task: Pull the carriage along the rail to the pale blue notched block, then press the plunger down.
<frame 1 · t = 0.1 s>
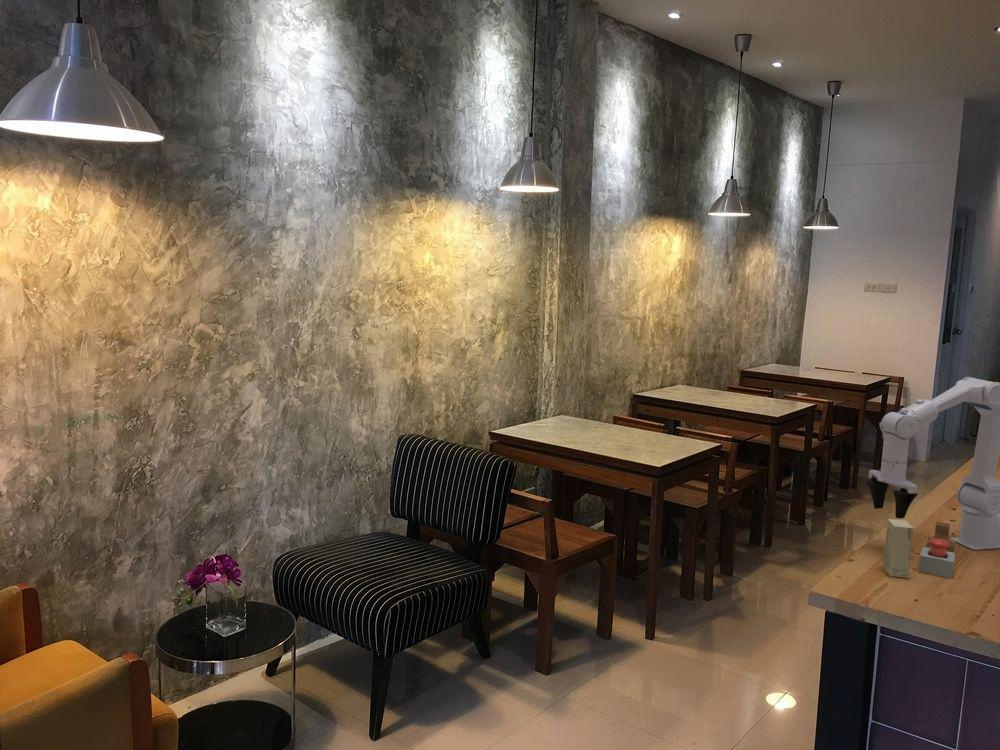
hand: (889, 512, 205), 10 cm above the counter, tool pointing down, fingers open, 7 cm apart
skincare box: (895, 573, 193), on the counter
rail: (938, 556, 204), on the counter
pale blue notched block: (936, 570, 195), on the counter
carriage: (941, 537, 206), point 4 cm above the counter, slide at 0.0 cm
plunger: (938, 550, 194), point 5 cm above the counter, slide at 0.0 cm
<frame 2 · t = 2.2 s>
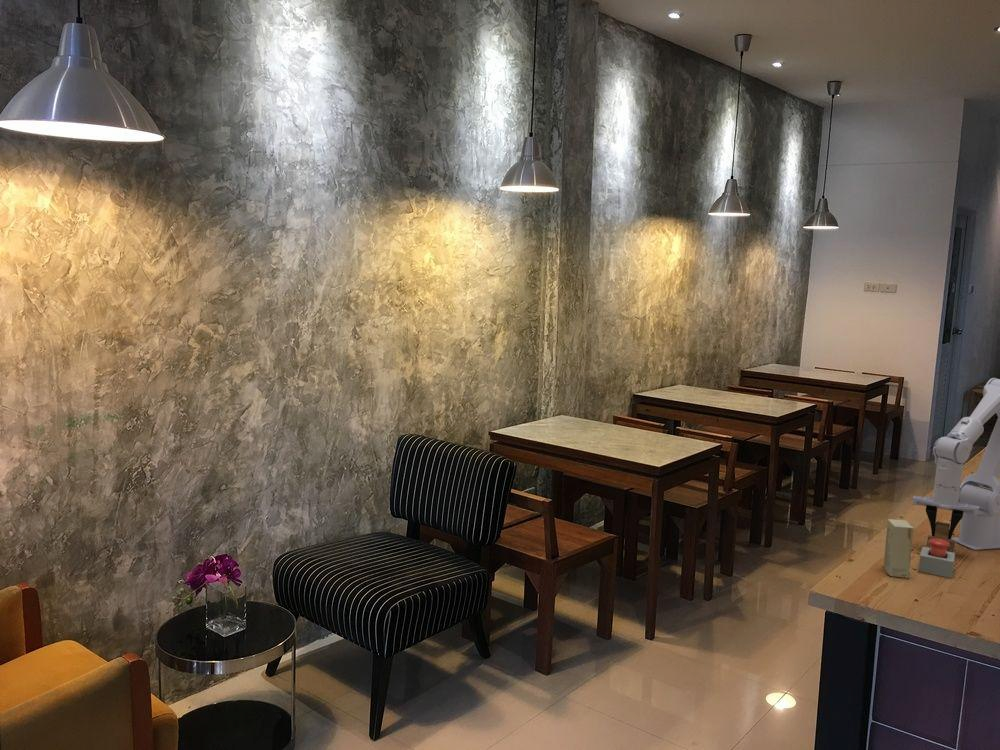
hand: (941, 536, 206), 4 cm above the counter, tool pointing down, fingers closed on carriage, 3 cm apart
carriage: (941, 537, 206), point 4 cm above the counter, slide at 0.0 cm, touching gripper
everything else where it was.
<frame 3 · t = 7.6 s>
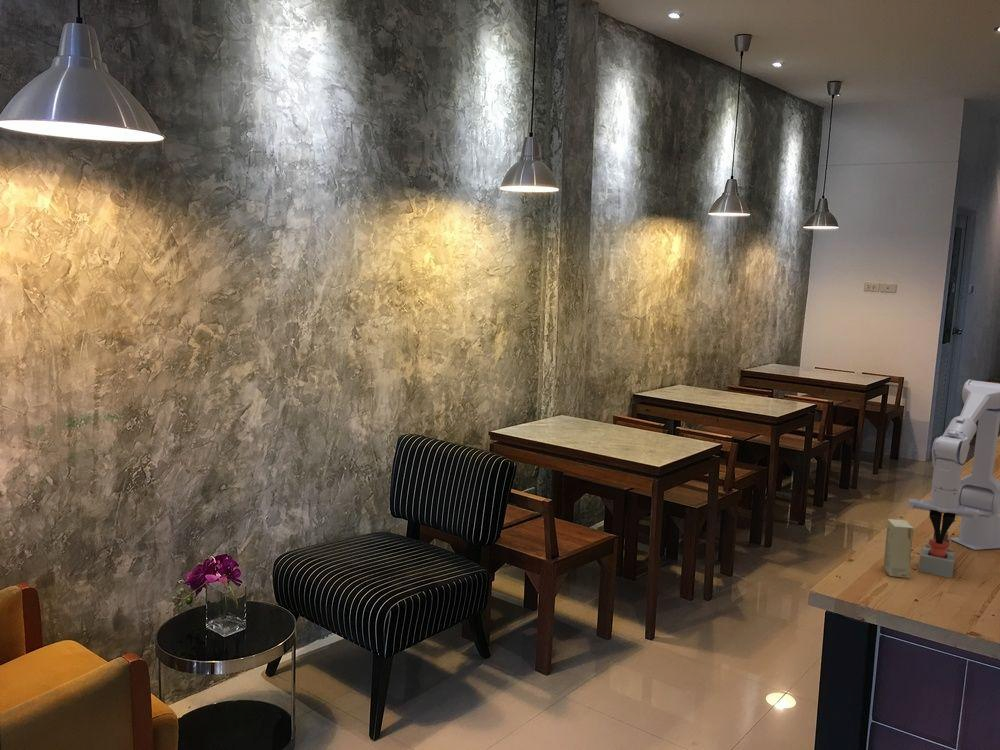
hand: (939, 542, 194), 7 cm above the counter, tool pointing down, fingers closed, pressing on plunger
carriage: (939, 545, 200), point 4 cm above the counter, slide at 6.9 cm
plunger: (938, 551, 194), point 5 cm above the counter, slide at 0.2 cm, touching gripper
everything else where it was.
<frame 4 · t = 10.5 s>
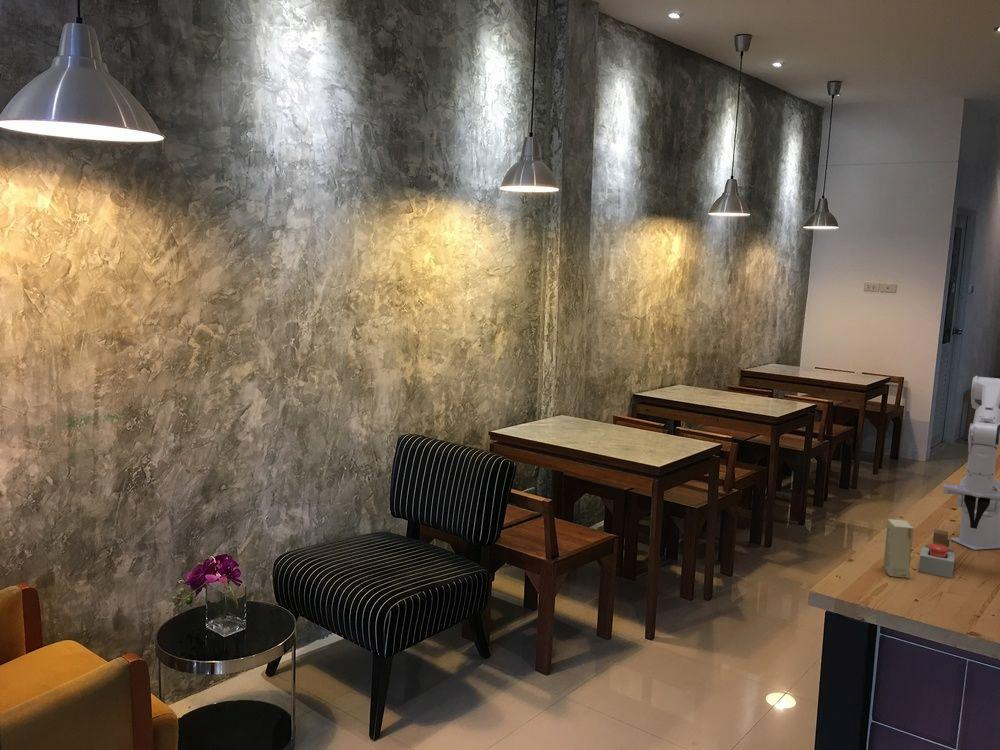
hand: (973, 527, 195), 10 cm above the counter, tool pointing down, fingers closed
plunger: (937, 555, 194), point 4 cm above the counter, slide at 1.3 cm
everything else where it was.
at the end: carriage slide at 6.9 cm; plunger slide at 1.3 cm; the gripper is holding nothing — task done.
